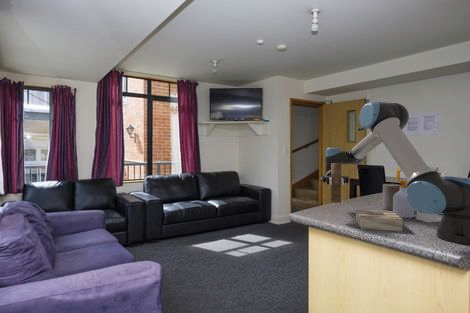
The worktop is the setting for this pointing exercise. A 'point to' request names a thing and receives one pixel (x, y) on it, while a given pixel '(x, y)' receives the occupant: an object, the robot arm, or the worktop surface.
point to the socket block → (378, 220)
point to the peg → (336, 183)
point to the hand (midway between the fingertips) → (336, 181)
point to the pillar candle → (389, 195)
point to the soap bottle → (402, 200)
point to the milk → (426, 217)
